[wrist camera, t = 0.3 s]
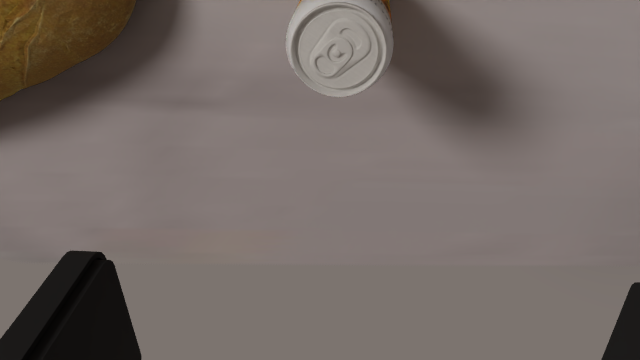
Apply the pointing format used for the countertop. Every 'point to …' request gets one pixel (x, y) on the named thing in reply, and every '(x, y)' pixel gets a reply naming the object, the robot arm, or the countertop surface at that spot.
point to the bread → (54, 37)
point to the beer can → (340, 44)
